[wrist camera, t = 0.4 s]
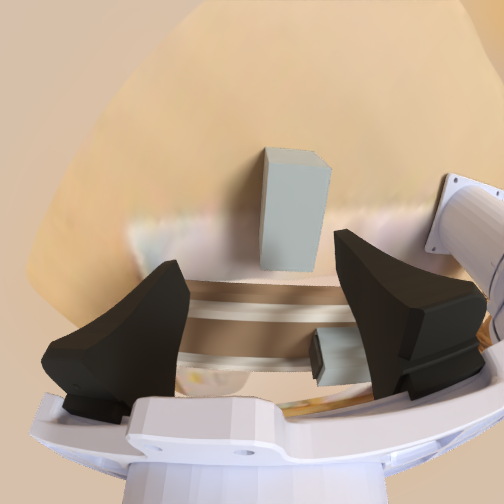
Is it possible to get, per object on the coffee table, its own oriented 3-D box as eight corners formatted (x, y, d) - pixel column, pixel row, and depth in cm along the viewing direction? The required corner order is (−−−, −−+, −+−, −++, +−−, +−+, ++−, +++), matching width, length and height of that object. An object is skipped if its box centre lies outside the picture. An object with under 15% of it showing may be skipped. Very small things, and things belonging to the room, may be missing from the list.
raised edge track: (399, 287, 25) (425, 333, 20) (366, 354, 31) (379, 397, 25) (155, 277, 25) (133, 328, 19) (171, 351, 30) (159, 397, 25)
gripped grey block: (313, 151, 19) (331, 168, 14) (301, 240, 23) (311, 277, 18) (265, 146, 19) (269, 162, 14) (258, 237, 22) (259, 274, 18)
